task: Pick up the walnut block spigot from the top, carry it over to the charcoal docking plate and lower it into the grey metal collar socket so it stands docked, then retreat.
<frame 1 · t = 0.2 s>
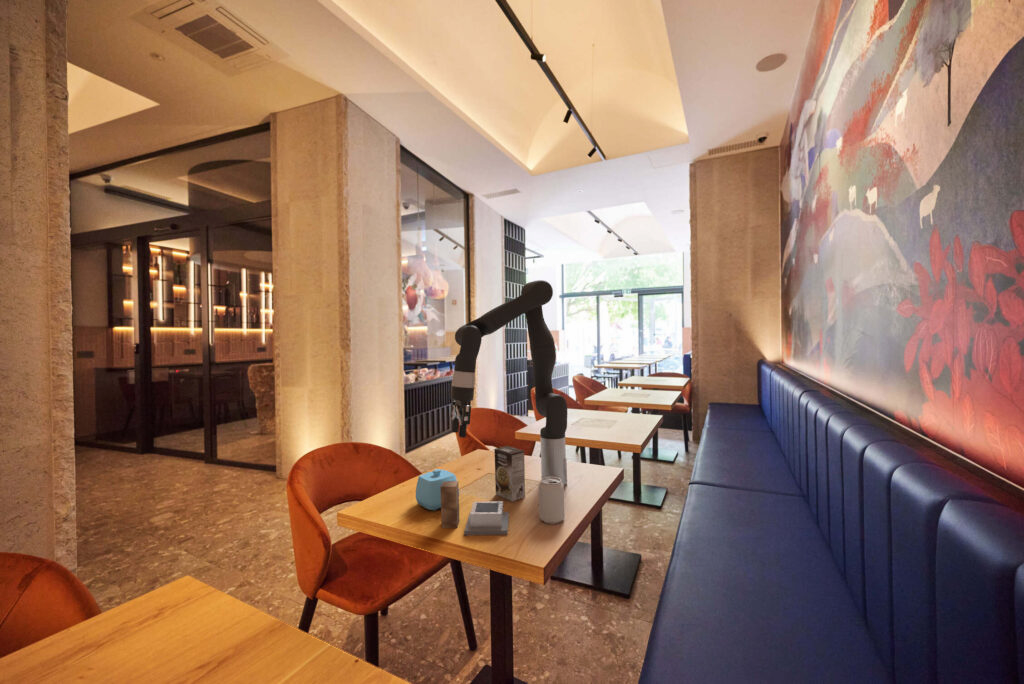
hand: (458, 434, 136), 23 cm above the table, tool pointing down, fingers open, 8 cm apart
can: (552, 520, 123), on the table
coffee box: (510, 496, 142), on the table
spigot: (450, 524, 121), on the table
dock: (487, 525, 120), on the table
teapot: (440, 506, 135), on the table
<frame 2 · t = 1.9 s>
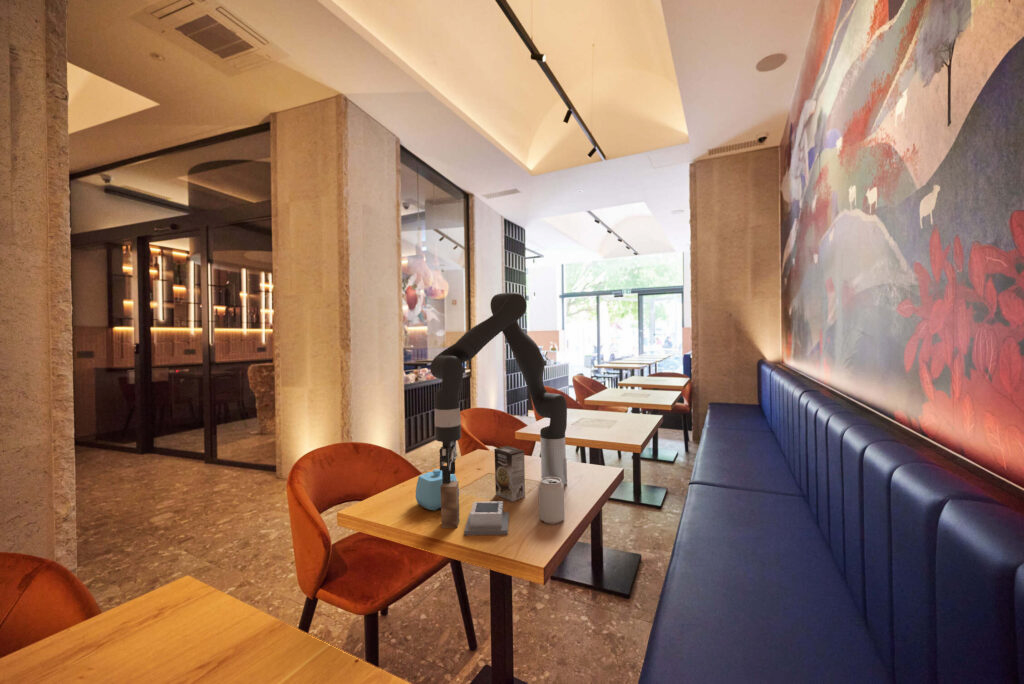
hand: (449, 478, 121), 14 cm above the table, tool pointing down, fingers open, 8 cm apart
nothing on the table moved.
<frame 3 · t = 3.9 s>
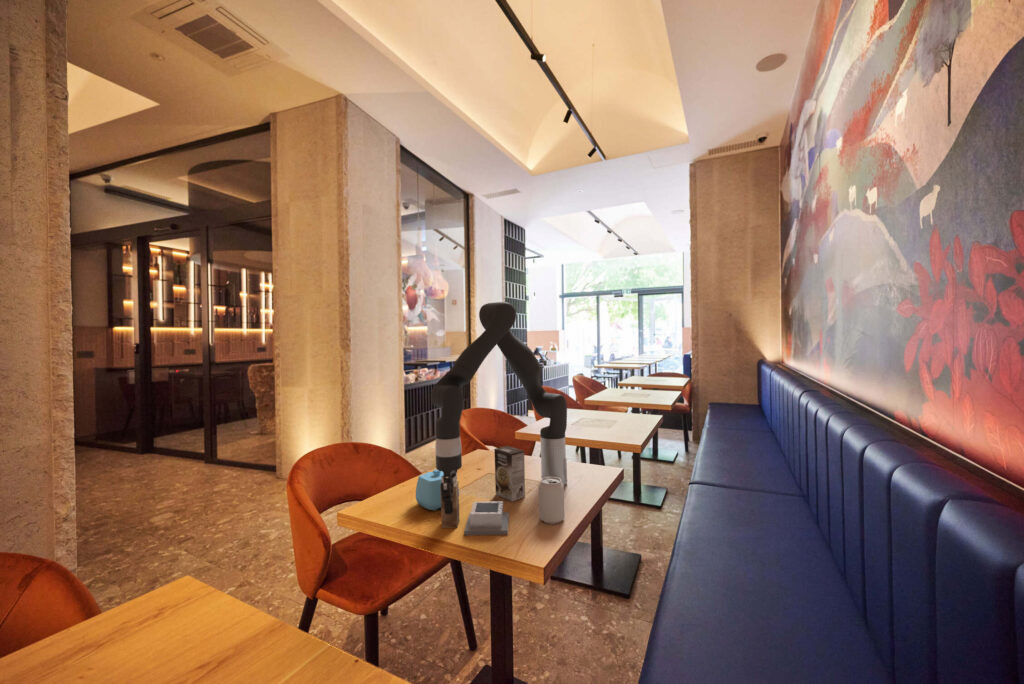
hand: (450, 509, 121), 4 cm above the table, tool pointing down, fingers closed on spigot, 4 cm apart
spigot: (450, 524, 121), on the table, touching gripper
everything else where it was.
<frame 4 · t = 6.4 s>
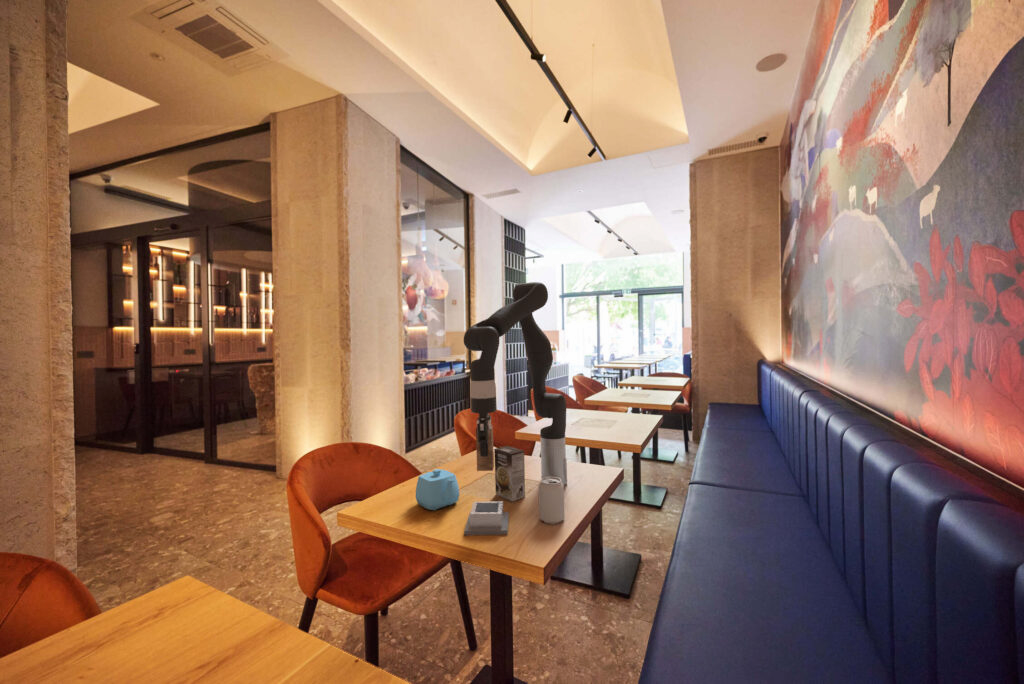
hand: (485, 453, 120), 21 cm above the table, tool pointing down, fingers closed on spigot, 4 cm apart
spigot: (485, 468, 120), point 17 cm above the table, touching gripper
everything else where it was.
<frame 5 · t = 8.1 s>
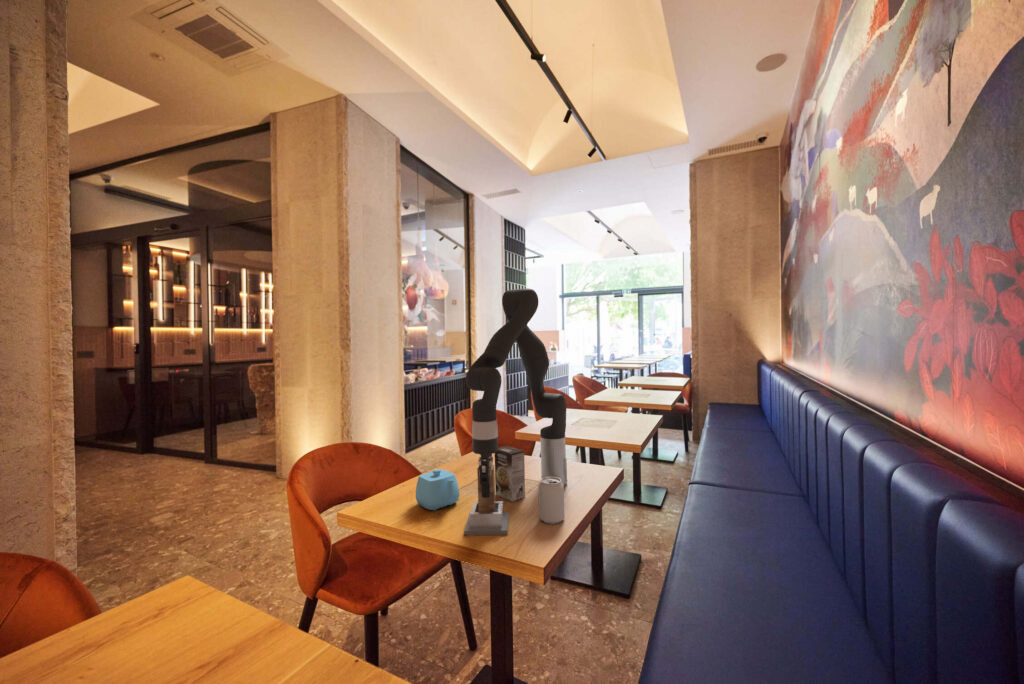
hand: (486, 493, 120), 9 cm above the table, tool pointing down, fingers closed on spigot, 4 cm apart
spigot: (487, 508, 120), point 5 cm above the table, touching gripper
everything else where it was.
when the fingers open (7 cm above the table, at t = 9.3 s): spigot drops 1 cm, resting on dock.
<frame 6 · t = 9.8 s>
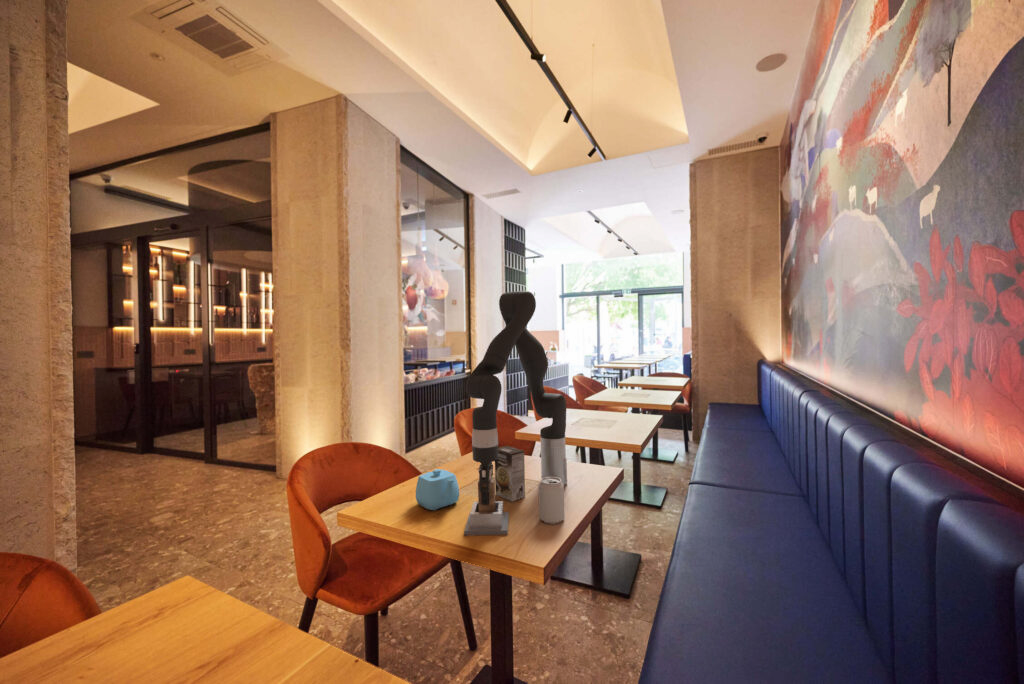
hand: (486, 498, 120), 8 cm above the table, tool pointing down, fingers open, 8 cm apart
spigot: (487, 520, 120), point 1 cm above the table, touching dock
everything else where it was.
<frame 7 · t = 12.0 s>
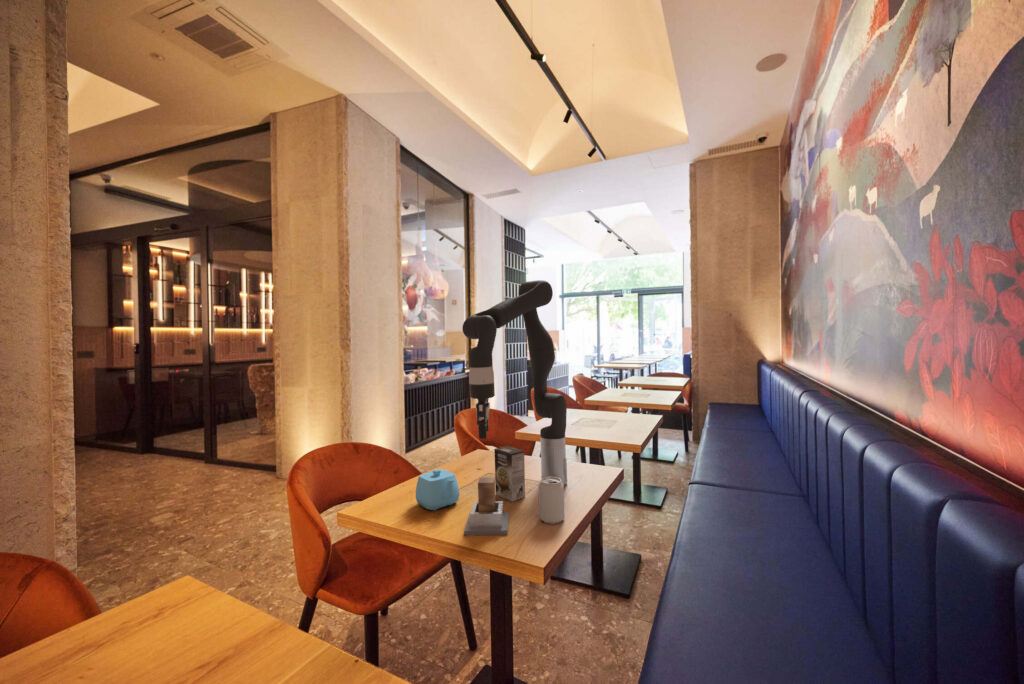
hand: (484, 434, 125), 25 cm above the table, tool pointing down, fingers open, 8 cm apart
nothing on the table moved.
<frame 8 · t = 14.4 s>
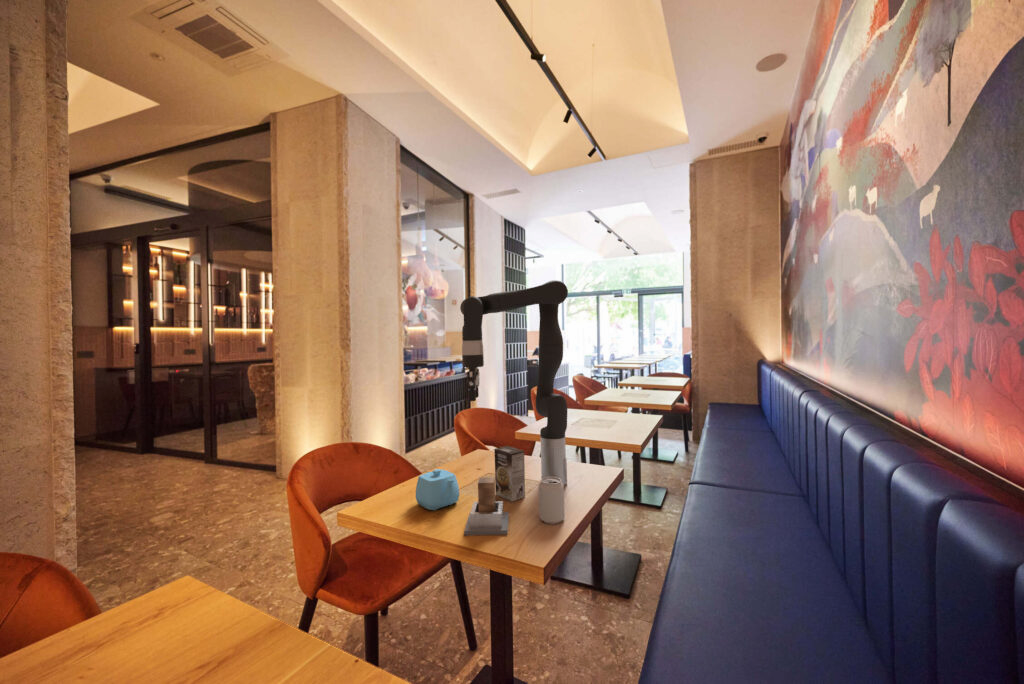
hand: (474, 399, 146), 33 cm above the table, tool pointing down, fingers open, 8 cm apart
nothing on the table moved.
at the end: spigot 0.1 cm off-centre on the dock, point 1.2 cm above the dock's base; spigot tilted 0°; the gripper is holding nothing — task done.
